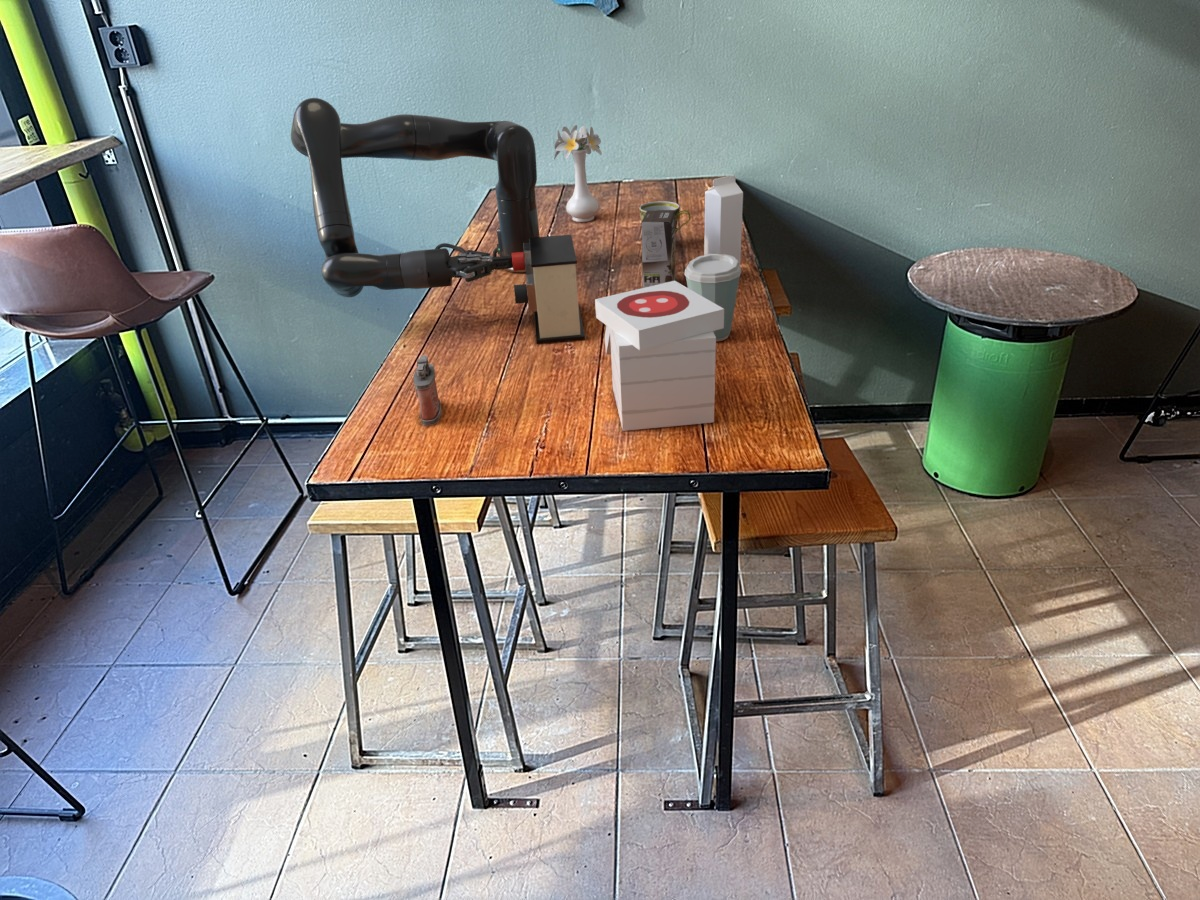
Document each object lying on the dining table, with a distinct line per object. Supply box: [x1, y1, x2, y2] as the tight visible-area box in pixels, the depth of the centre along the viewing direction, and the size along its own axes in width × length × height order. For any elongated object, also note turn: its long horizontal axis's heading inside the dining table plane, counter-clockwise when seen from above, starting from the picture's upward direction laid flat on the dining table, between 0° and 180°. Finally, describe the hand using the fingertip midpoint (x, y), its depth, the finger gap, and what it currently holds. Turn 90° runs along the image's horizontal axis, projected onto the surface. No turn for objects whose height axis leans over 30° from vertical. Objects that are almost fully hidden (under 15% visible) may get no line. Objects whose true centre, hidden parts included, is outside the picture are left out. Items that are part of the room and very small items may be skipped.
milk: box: [703, 174, 744, 266], centre depth 184 cm, size 6×6×22 cm
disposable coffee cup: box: [683, 254, 743, 343], centre depth 158 cm, size 11×11×15 cm
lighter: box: [412, 354, 442, 426], centre depth 138 cm, size 8×3×10 cm, turn 5°
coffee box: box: [641, 210, 676, 288], centre depth 181 cm, size 9×6×16 cm
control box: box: [523, 234, 586, 345], centre depth 166 cm, size 10×18×16 cm, turn 6°
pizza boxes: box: [594, 280, 724, 432], centre depth 139 cm, size 19×30×18 cm, turn 5°
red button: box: [512, 252, 525, 271], centre depth 167 cm, size 2×4×4 cm, turn 6°
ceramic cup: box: [639, 200, 692, 235], centre depth 206 cm, size 13×10×10 cm
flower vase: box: [553, 124, 603, 223], centre depth 227 cm, size 13×18×25 cm
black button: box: [513, 283, 528, 305], centre depth 161 cm, size 2×4×4 cm, turn 6°
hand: (512, 261), depth 167 cm, fingers closed
